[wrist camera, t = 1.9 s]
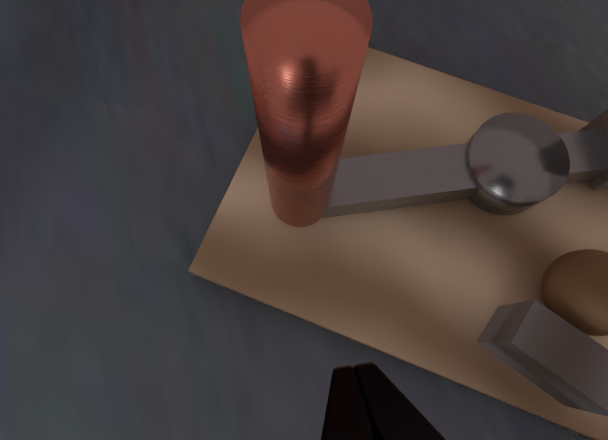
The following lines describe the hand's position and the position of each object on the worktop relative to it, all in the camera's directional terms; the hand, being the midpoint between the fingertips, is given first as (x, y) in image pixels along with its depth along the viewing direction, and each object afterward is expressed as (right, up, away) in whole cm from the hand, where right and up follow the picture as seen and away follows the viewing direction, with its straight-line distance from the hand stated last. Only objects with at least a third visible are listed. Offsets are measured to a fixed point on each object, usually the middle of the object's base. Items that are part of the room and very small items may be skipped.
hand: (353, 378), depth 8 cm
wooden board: (+6, +4, +13) cm, 15 cm away
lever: (+6, +5, +12) cm, 14 cm away
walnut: (+11, 0, +11) cm, 15 cm away
